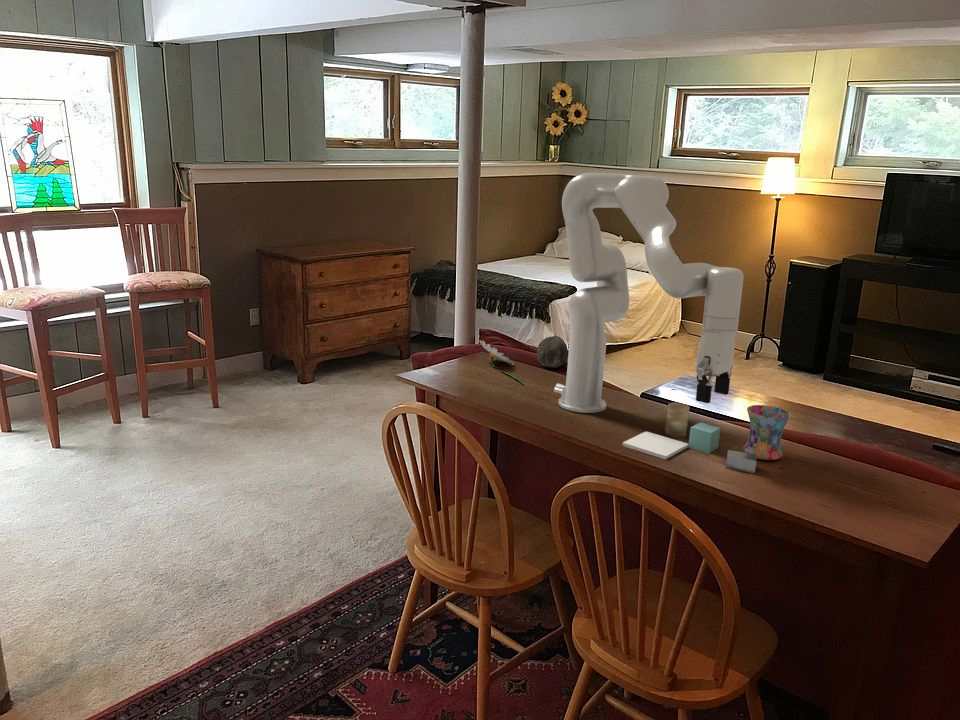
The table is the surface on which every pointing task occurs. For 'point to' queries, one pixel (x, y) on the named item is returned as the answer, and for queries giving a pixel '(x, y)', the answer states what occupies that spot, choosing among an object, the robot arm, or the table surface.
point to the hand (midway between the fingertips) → (712, 397)
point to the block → (704, 437)
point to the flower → (496, 355)
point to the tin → (741, 461)
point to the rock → (552, 352)
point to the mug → (766, 431)
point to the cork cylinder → (677, 419)
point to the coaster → (655, 445)
